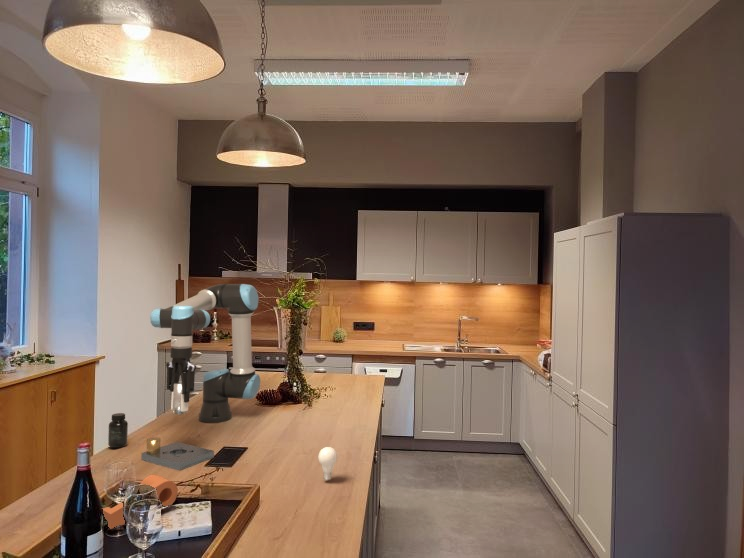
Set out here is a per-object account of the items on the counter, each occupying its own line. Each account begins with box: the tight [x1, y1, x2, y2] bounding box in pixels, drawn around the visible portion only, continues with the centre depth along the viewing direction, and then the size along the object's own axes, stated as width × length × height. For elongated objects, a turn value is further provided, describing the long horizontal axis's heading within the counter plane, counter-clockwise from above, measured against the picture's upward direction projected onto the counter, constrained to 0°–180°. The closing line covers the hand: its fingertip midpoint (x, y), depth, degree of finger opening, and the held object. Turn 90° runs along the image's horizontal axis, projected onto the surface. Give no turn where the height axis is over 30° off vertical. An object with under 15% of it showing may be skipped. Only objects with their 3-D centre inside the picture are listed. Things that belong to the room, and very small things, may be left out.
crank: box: [102, 474, 179, 530], centre depth 151 cm, size 20×8×8 cm, turn 143°
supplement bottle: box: [107, 412, 129, 448], centre depth 209 cm, size 7×7×12 cm
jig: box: [141, 436, 215, 472], centre depth 195 cm, size 20×16×7 cm
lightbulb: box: [317, 446, 338, 482], centre depth 177 cm, size 6×6×11 cm
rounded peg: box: [172, 381, 187, 416], centre depth 196 cm, size 5×5×11 cm
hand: (179, 409), depth 196 cm, fingers closed on rounded peg, 4 cm apart
